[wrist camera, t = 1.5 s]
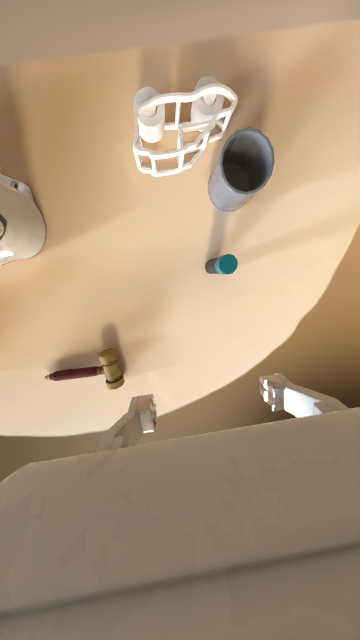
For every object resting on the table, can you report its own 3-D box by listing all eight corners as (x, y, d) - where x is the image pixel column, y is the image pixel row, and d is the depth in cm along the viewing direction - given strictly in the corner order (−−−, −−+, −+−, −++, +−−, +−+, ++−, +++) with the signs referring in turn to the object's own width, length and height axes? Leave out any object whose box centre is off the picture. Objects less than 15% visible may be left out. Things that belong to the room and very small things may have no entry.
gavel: (45, 398, 47) (32, 365, 45) (56, 387, 52) (45, 357, 49) (121, 388, 47) (112, 355, 44) (126, 378, 51) (118, 347, 48)
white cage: (221, 101, 36) (234, 59, 29) (227, 163, 39) (241, 139, 32) (127, 119, 36) (117, 81, 29) (141, 181, 39) (135, 160, 32)
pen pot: (199, 195, 41) (209, 172, 31) (223, 151, 39) (241, 113, 30) (233, 220, 43) (252, 205, 33) (258, 179, 41) (284, 152, 32)
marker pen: (202, 269, 45) (215, 267, 33) (209, 256, 44) (225, 250, 32) (213, 276, 46) (230, 277, 34) (221, 264, 45) (241, 260, 33)
